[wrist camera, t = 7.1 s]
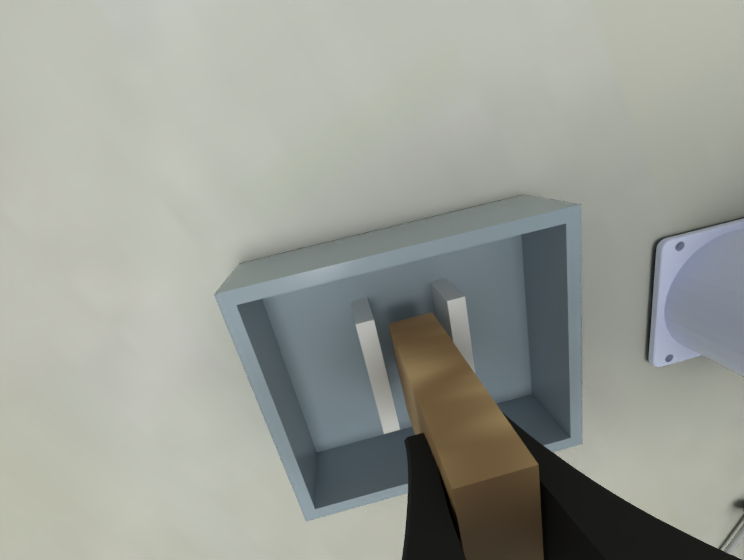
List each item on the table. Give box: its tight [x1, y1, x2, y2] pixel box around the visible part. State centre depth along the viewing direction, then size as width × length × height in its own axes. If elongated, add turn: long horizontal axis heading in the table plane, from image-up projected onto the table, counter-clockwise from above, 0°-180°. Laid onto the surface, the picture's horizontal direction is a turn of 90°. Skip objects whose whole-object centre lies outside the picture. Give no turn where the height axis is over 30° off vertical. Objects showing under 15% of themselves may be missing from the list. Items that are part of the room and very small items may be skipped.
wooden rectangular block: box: [388, 312, 544, 560], centre depth 12 cm, size 2×5×8 cm, turn 12°
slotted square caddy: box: [214, 195, 582, 521], centre depth 17 cm, size 14×12×4 cm
